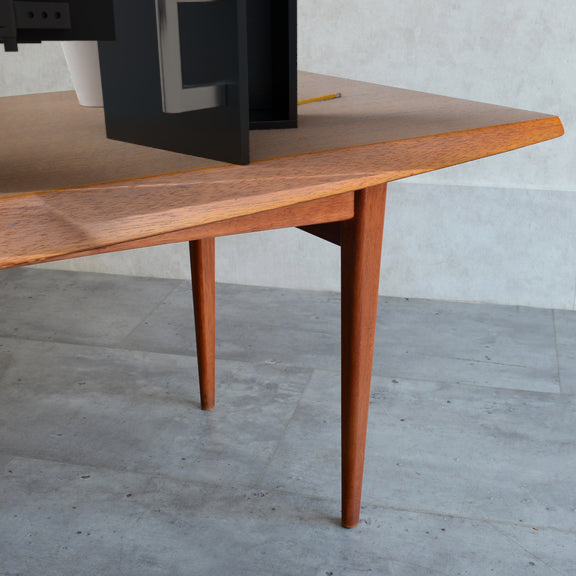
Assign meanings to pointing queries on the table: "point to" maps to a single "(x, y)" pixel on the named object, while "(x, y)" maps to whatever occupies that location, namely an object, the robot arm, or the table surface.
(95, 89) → the cup
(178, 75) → the door
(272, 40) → the cupboard
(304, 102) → the pencil
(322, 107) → the table surface
